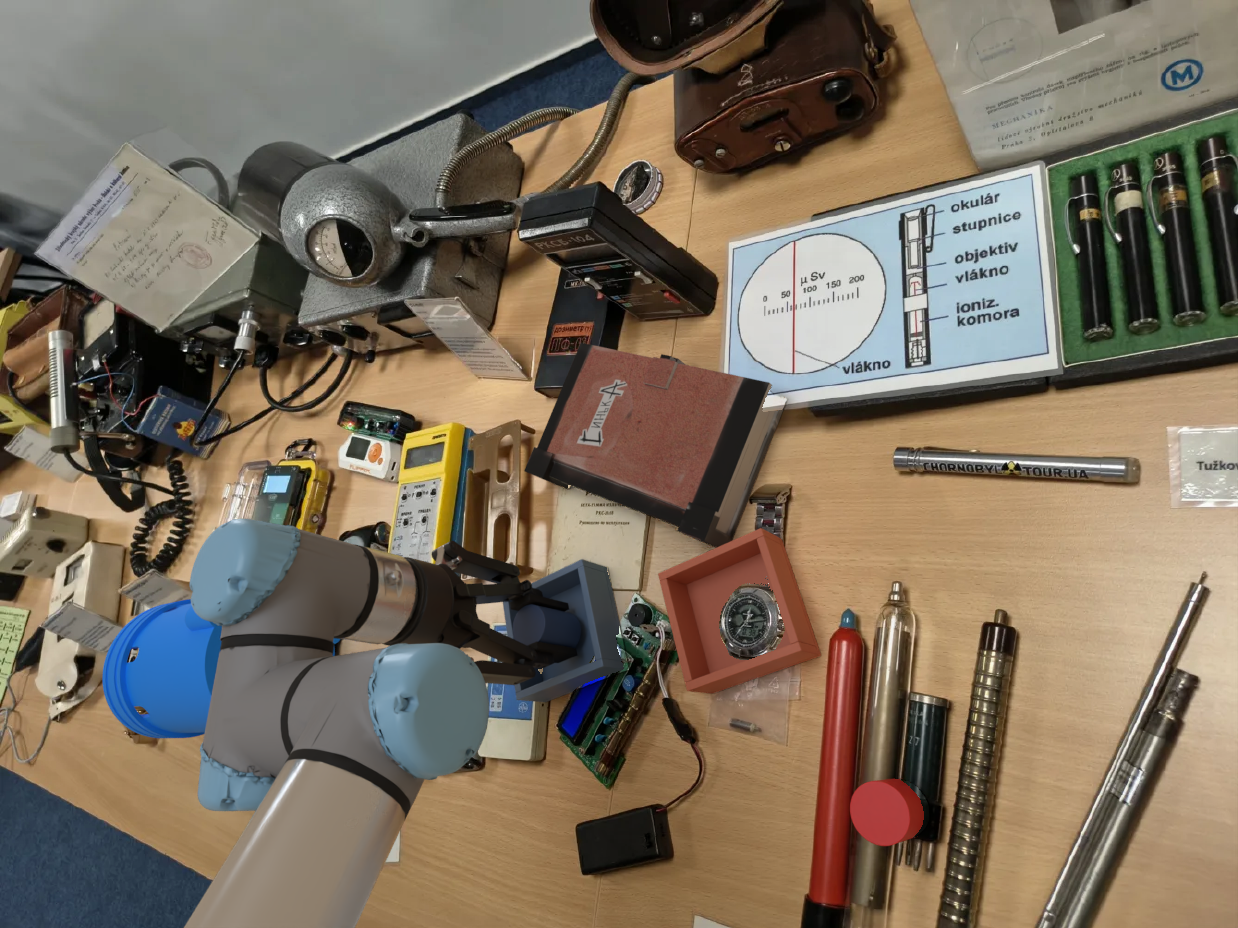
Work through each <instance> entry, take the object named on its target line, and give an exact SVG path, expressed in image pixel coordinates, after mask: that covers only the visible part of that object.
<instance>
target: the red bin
mask: <svg viewBox="0 0 1238 928" xmlns="http://www.w3.org/2000/svg"><path fill="white" fill-rule="evenodd" d="M657 576H658V578H659V579H658V580H659V583H660V588H661V592H662V597H663V600H664V604H665V608H666V612H667V616H668V620H669V624H670V628H671V632H672V636H673V640H674V644H675V648H676V653H677V656H678V657H677V658H678V660H679V665H680V668H681V669H680V670H681V673H682V676H683V681H684V684H685V689H686V691H687V692H693V693H700V694H701V693H702V694H709V695H712V694H716V693H718V692H721V691H724V690H727V689H730V688H732V687H736V686H739V685H741V684H744V683H747V682H750V681H753V680H755V679H758V678H762V677H765V676H768V675H770V674H773V673H775V672H779V671H781V670H785V669H788V668H791V667H793V666H796V665H799V664H802V663H804V662H807V661H810V660H814V659H816V658H819V657H821V656H822V653H821V651H820V647H819V644H818V641H817V638H816V636H815V632H814V629H813V627H812V624H811V621H810V619H809V618H810V617H809V615H808V612H807V609H806V606H805V604H804V601H803V597H802V594H801V592H800V589H799V586H798V583H797V579H796V576H795V573H794V570H793V568H792V565H791V562H790V559H789V556H788V552H787V550H786V548H785V544H784V542H783V539H782V538H781V537H779V536H777V535H775V534H774V533H772V532H770V531H768V530H766V529H764V528H762V527H760V528H757V529H756V530H753V531H751V532H748V533H746V534H744V535H742V536H740V537H738V538H734V539H733V540H732V541H731V542H728V543H726V544H724V545H722V546H719V547H714V548H713V549H710V550H707V551H706V552H703V553H702V554H699V555H697V556H694V557H693V558H690V559H688V560H686V561H683V562H681V563H679V564H676V565H674V566H672V567H670V568H667V569H666V570H663V571H661V572H658V573H657ZM766 576H767V577H766ZM765 578H766V579H765ZM767 579H768V580H767ZM745 583H746V584H747V583H748V584H749V583H750V584H754V583H755V584H759V585H760V584H761V583H762V584H761V585H763V584H764V585H763V586H765V584H766V585H767V584H768V583H769V584H768V587H769V586H770V588H769V589H771V591H772V590H773V592H774V595H775V598H776V601H777V604H778V607H779V610H780V614H781V617H782V620H783V623H784V626H785V632H784V634H783V637H782V640H781V642H780V644H778V646H777V648H776V650H774V651H771V652H768V653H766V654H763V655H760V656H757V657H755V658H752V659H749V660H739V659H736V658H734V657H733V656H730V655H729V653H728V650H727V648H726V646H725V644H724V643H723V641H722V639H721V636H720V629H719V621H720V615H721V611H722V608H723V606H724V605H725V603H726V602H727V601H728V599H729V597H730V595H732V593H733V592H734V591H735V589H737V588H738V587H739V586H741V585H742V584H745ZM755 584H754V585H755Z"/></svg>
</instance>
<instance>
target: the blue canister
mask: <svg viewBox="0 0 1238 928" xmlns="http://www.w3.org/2000/svg"><path fill="white" fill-rule="evenodd" d="M580 635H581V627H580V623H579V621H578V619H577V618H576V616H575V615H573V614H571V613H568V612H564V611H560V610H555V609H551V608H546V607H542V606H538V605H533V604H530V605H526V606H524V607H523V608H521V609H520V610H519V612H518V613H517V614H516V616H515V619H514V622H513V636H514V639H515V640H516V641H518V642H521V643H523V644H525V645H530V644H532V643H534V642H543V643H548V644H554V645H560V646H566V647H571V648H575V647H576V645H577V644H578V642H579V639H580Z"/></svg>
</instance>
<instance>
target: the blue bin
mask: <svg viewBox="0 0 1238 928" xmlns="http://www.w3.org/2000/svg"><path fill="white" fill-rule="evenodd" d="M607 567H608V566H605V565H602V564H599V563H596V562H593V561H589V560H587V559H583V558H581V559H579V560H577V561H575V562H572V563H571V564H568V565H566V566H564V567H562V568H560V569H558V570H557V571H553V572H552V573H550V574H548V575H546V576H543V577H541V578H540V579H539V578H538V579H537V580H535V581H533V582H531V584H532V588H535V589H539V590H540V591H542V593H543V597H546V598H550V599H554V600H558V601H562V602H566V603H568V605H569V610H567V611H565V612H568V613H571V614H573V615H575V616H576V618H577V619H578V621H579V623H580V627H581V635H580V639H579V642H578V644H577V645H576V647H575V648H576V649H577V656H575V657H572V658H570V659H567V660H565V661H562V662H560V663H554V664H552V665H549V666H547V667H545V668H543V672H542V674H540V672H539V671H538V668H534V669H535V672H536V675H535V677H534V678H531V679H529V680H526V681H524V682H521V683H519V684H516V685H513V686H514V691H515V692H514V693H515V698H516V699H515V700H516V701H520V702H521V701H523V702H535V703H548V702H550V701H552V700H555V699H559V698H561V697H563V696H566V695H568V694H571V693H574V692H575V691H574V690H575V689H576V688H577V687H579V686H581V685H583V684H585V683H588V682H590V681H593V680H595V679H598V678H600V677H603V676H606V675H609V674H612V673H616V672H618V671H621V670H623V669H624V667H623V663H622V662H621V661H622V660H621V657H620V655H619V652H618V649H617V640H616V635H618V634H619V626H620V627H621V622H620V617H619V614H618V607H617V603H616V600H615V594H614V590H613V586H612V587H611V585H612V581H611V582H610V580H611V578H610V579H609V576H610V574H609V575H608V572H607ZM512 601H513V600H510V601H508V602H502V607H503V616H504V619H505V620H504V621H505V626H506V636H508V637H510V638H512V639H514V636H513V622H514V619H515V616H516V614H517V613H518V612H519V611H516V610H511V608H510V602H512ZM514 640H515V639H514ZM593 656H595V660H596V661H594V662H592V663H589V662H590V661H591V660H592V658H593ZM573 691H574V692H573Z"/></svg>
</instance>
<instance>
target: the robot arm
mask: <svg viewBox="0 0 1238 928" xmlns="http://www.w3.org/2000/svg"><path fill="white" fill-rule="evenodd" d="M431 558H432V559H433V560H434V561H435V563H433V562H428V561H425V560H420V559H417V558H413V557H409V556H402V555H399V554H395V553H391V552H386V551H384V550H379V549H376V548H372V547H368V546H364V545H359V544H355V543H354V544H353V543H351V542H347V541H343V540H340V539H337V538H333V537H329V536H325V535H323V534H318V533H314V532H311V531H307V530H304V529H300V528H298V527H296V526H294V525H291V524H287V525H286V524H285V525H284V524H281V523H274V522H270V521H265V520H257V519H251V518H233V519H231V520H228V521H227V522H224V523H223V524H220V525H219V526H218V527H217V528H215V529H214V530H213V531H212V532H211V533H210V535H209V536H208V537H207V538H206V539H205V540H204V542H203V543H202V545H201V547H200V549H199V551H198V552H197V555H196V558H195V560H194V563H193V566H192V569H191V573H190V578H189V585H188V586H189V589H190V591H191V597H190V599H191V605H192V607H193V610H194V611H195V613H196V614H197V615H198V616H199V617H200V618H202V619H204V620H206V621H210V622H213V623H214V624H216V625H218V626H222V631H221V637H220V640H221V641H222V642H221V647H220V650H221V651H220V652H219V658H218V663H217V669H216V674H215V679H214V685H213V690H212V696H211V701H210V707H209V712H208V717H207V723H206V728H205V734H203V739H202V743H201V744H200V747H199V752H200V765H199V774H198V775H199V776H198V785H197V800H198V802H199V804H200V805H201V807H202V808H204V809H206V810H208V811H212V812H253V814H252V816H251V818H249V821H248V823H247V824H246V826H245V827H244V829H243V830H242V832H241V834H240V836H239V837H238V839H237V840H236V842H235V844H234V845H233V847H232V848H231V850H230V851H229V853H228V855H227V856H226V858H225V859H224V861H223V863H222V864H221V866H220V868H219V869H218V871H217V873H216V874H215V876H214V877H213V879H212V880H211V883H210V884H209V886H208V887H207V889H206V890H205V892H204V894H203V895H202V897H201V899H200V901H199V902H198V904H197V905H196V907H195V909H194V910H193V912H192V914H191V915H190V916H189V918H188V920H187V921H186V923H185V925H184V926H183V928H356V927H357V924H358V923H359V921H360V918H361V916H362V915H363V912H364V910H365V907H366V906H367V903H368V901H369V899H370V897H371V895H372V892H373V890H374V888H375V886H376V884H377V881H378V879H379V877H380V875H381V874H382V871H383V868H384V866H385V864H386V862H387V861H388V858H389V855H390V854H391V851H392V849H393V847H394V845H395V842H396V841H397V838H398V836H399V834H400V832H401V830H402V828H403V825H404V823H405V821H406V819H407V818H408V815H409V812H410V810H411V808H412V806H413V805H414V803H415V801H416V799H417V798H418V795H419V792H420V790H421V788H422V786H423V784H424V781H425V780H426V781H433V780H437V779H438V777H441V776H447V775H450V774H454V773H456V772H457V771H459V770H461V768H462V767H463V766H465V765H466V764H467V763H468V762H469V761H470V760H471V758H474V757H475V756H476V754H477V752H478V751H479V750H480V748H481V746H482V744H483V741H484V739H485V736H486V733H487V730H488V726H489V725H488V724H489V718H490V717H489V716H490V699H489V692H488V688H487V684H493V685H505V686H506V685H507V686H514V685H516V684H519V683H521V682H524V681H526V680H529V679H531V678H534V677H535V675H536V672H535V669H534V668H538V669H542V668H545V667H547V666H549V665H552V664H554V663H560V662H562V661H565V660H567V659H570V658H572V657H575V656H577V649H576V648H571V647H566V646H560V645H554V644H548V643H543V642H534V643H532V644H530V645H525V644H523V643H521V642H518V641H516V640H514V639H512V638H510V637H508V636H507V634H503V633H502V632H499V631H498V630H495V629H493V628H491V624H490V623H488V622H487V621H484V620H482V619H480V618H479V616H478V612H477V605H486V604H487V605H488V604H496V603H503V602H508V601H510V600H513V601H512V602H510V608H511V610H516V611H519V610H520V609H521V608H523V607H524V606H526V605H530V604H533V605H538V606H542V607H546V608H551V609H555V610H560V611H564V612H565V611H567V610H569V605H568V603H566V602H562V601H558V600H554V599H550V598H546V597H543V593H542V591H540V590H539V589H535V588H532V584H531V583H532V582H531V581H530V580H529V579H525V580H523V581H520V579H519V576H520V575H521V570H520V568H519V567H518V565H516V564H513V563H509V562H506V561H503V560H500V559H497V558H492V557H489V556H486V555H484V554H481V553H477V552H473V551H470V550H467V549H466V548H465V547H463V546H462V545H460V544H459V543H458V542H456V541H455V540H450V541H448V542H447V543H444V544H443V545H440V546H439V547H437V548H435V549H433V550H432V551H431ZM458 574H459V575H463V576H467V577H470V578H475V579H478V580H482V581H486V582H490V583H488V584H483V582H476V583H466V582H464V581H463V579H462V578H461V577H460V576H459V575H458ZM334 638H337V639H340V640H346V641H352V642H358V643H360V642H361V643H366V644H372V645H384V646H387V647H381V648H376V649H369V650H364V651H358V652H352V653H345V654H339V655H338V654H337V655H336V654H335V656H333V651H334V648H335V644H334V643H333V639H334ZM462 649H472V650H474V651H476V652H479V653H481V654H484V655H485V656H487V657H489V658H492V659H494V660H497V661H494V660H485V659H484V660H483V659H479V660H475V659H474V657H471V656H470V655H469V654H468V653H466V652H465V651H463V650H462Z"/></svg>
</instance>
